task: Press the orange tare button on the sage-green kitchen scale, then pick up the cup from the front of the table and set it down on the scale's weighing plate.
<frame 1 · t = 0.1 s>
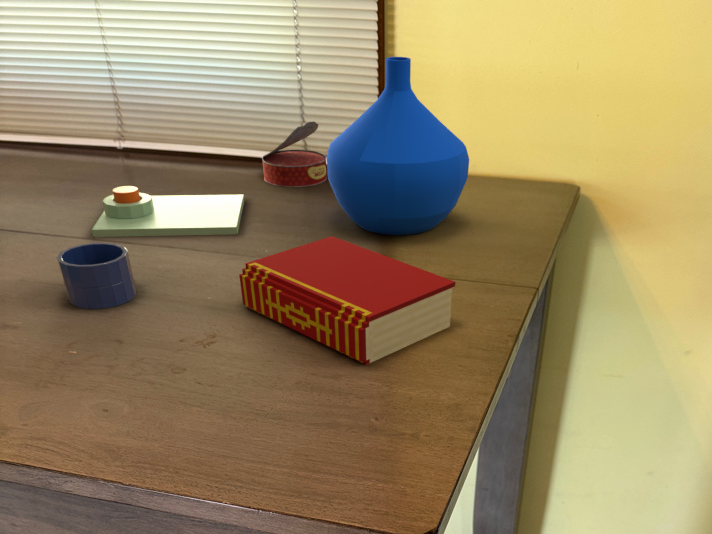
cup: (104, 300, 82), on the table
tare button: (126, 195, 99), point 3 cm above the table, slide at 0.1 cm
vase: (397, 226, 102), on the table
scale: (174, 221, 102), on the table
canned food: (295, 179, 118), on the table
book: (346, 322, 79), on the table
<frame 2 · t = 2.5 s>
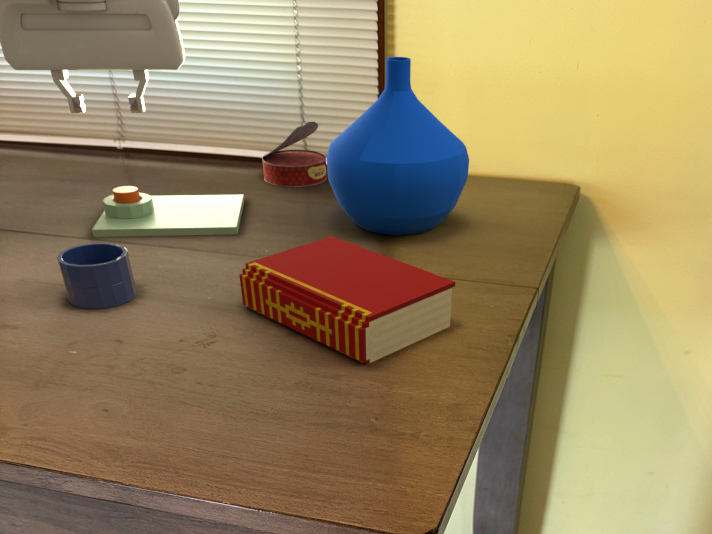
hand: (108, 112, 93), 13 cm above the table, tool pointing down, fingers open, 6 cm apart
nothing on the table moved.
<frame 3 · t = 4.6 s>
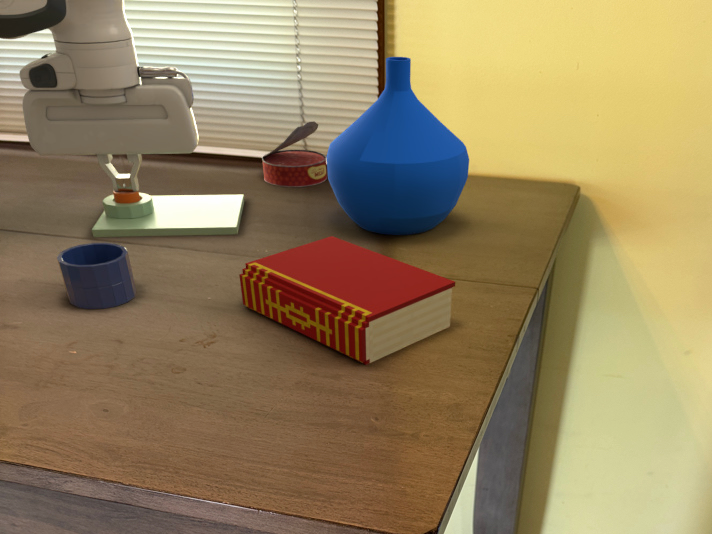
hand: (127, 190, 99), 4 cm above the table, tool pointing down, fingers closed, pressing on tare button
tare button: (127, 197, 99), point 3 cm above the table, slide at -0.1 cm, touching gripper
everything else where it was.
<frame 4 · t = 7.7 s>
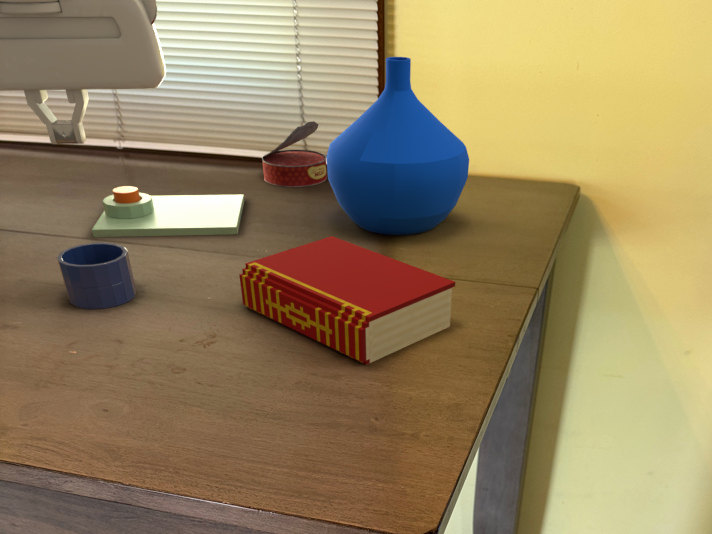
hand: (69, 142, 72), 15 cm above the table, tool pointing down, fingers closed
tare button: (126, 195, 99), point 3 cm above the table, slide at 0.1 cm
everything else where it was.
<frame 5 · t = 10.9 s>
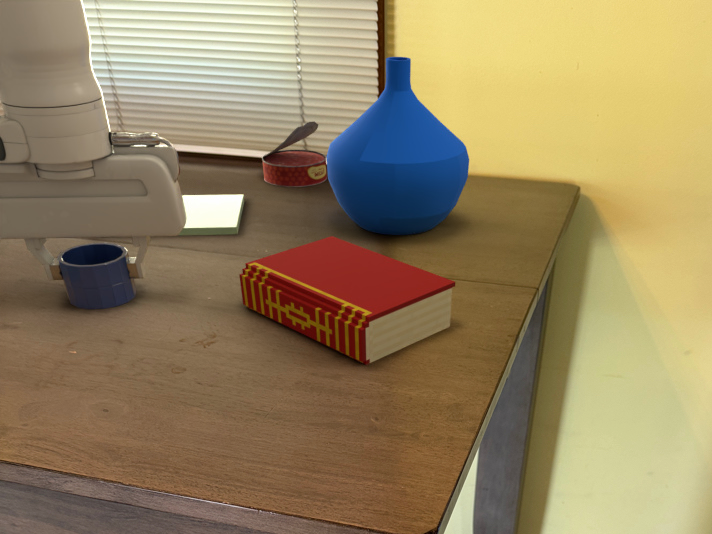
hand: (98, 277, 80), 2 cm above the table, tool pointing down, fingers closed on cup, 7 cm apart
cup: (104, 300, 82), on the table, touching gripper
everything else where it was.
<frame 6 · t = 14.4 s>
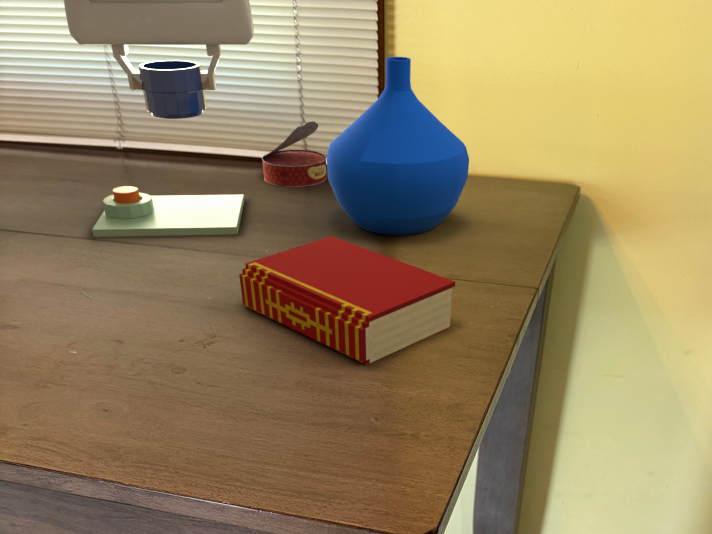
hand: (173, 89, 89), 16 cm above the table, tool pointing down, fingers closed on cup, 7 cm apart
cup: (177, 113, 91), point 14 cm above the table, touching gripper
everything else where it was.
when the fingers open (4 cm above the table, at t = 18.0 s): cup stays where it is, resting on scale.
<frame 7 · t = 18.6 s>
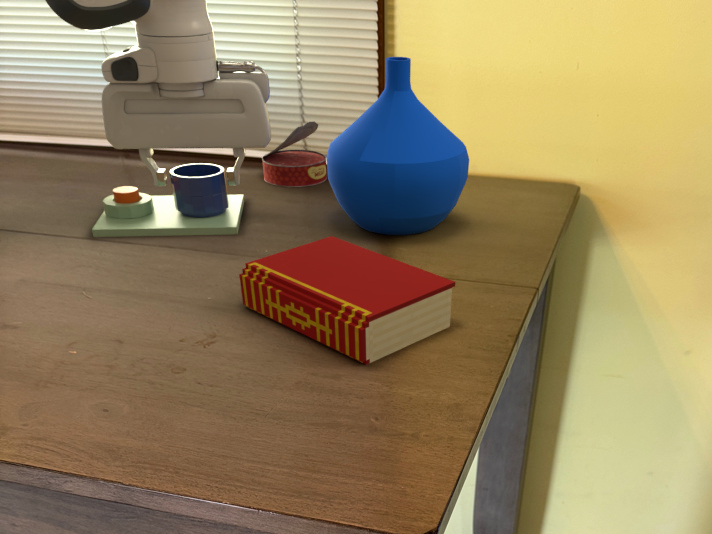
hand: (198, 184, 99), 5 cm above the table, tool pointing down, fingers open, 8 cm apart
cup: (203, 210, 101), point 1 cm above the table, touching scale
everything else where it was.
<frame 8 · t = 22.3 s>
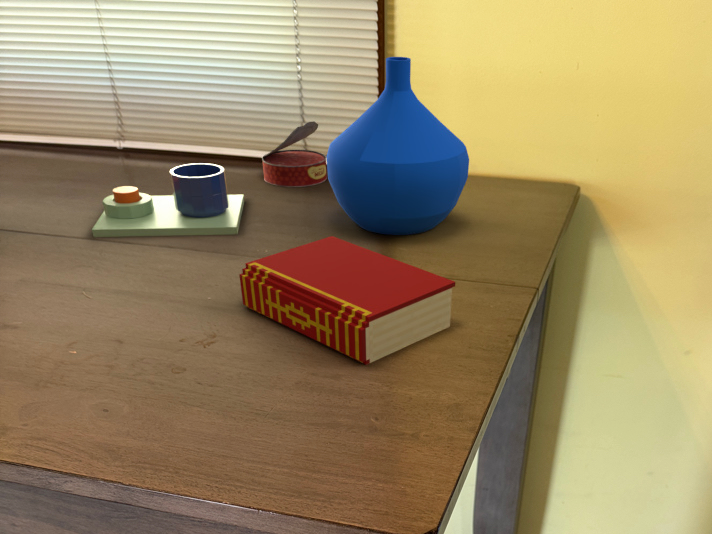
nothing on the table moved.
at the end: tare button pushed in 0.9 cm at the most during the clip, back to where it started at the end; cup inside the target area on the scale (0.1 cm from its centre), point 1.4 cm above the scale's base; cup touching scale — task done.
